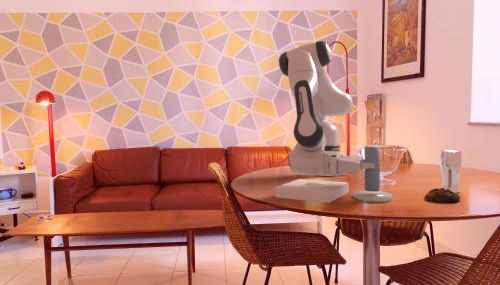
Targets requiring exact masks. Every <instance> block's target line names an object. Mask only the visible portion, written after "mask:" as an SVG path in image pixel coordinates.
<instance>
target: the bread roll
mask: <svg viewBox="0 0 500 285" xmlns="http://www.w3.org/2000/svg"><path fill="white" fill-rule="evenodd" d="M424 199H425V200H426V201H430V202H434V203H440V204H455V203H458V202H459V201H460V199H461V197H460V194H459V193H455V192H452V191H450V190H449V189H447V190H445V189H444V188H442V187H441V188H439V187H437V188H432V189H430V190H429V191H428V192H427V193H426V194H425V195H424Z"/></svg>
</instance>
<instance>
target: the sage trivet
mask: <svg viewBox="0 0 500 285" xmlns="http://www.w3.org/2000/svg"><path fill="white" fill-rule="evenodd" d="M352 198H354V199H356V200H359V201H360V200H361V201H363V202H364V201H365V203H375V204H376V203H377V204H378V203H379V204H380V203H388V202H391V201H393V194H392V193H390V192H387V191H382V190H380V191H366V190H358V191H357V190H356V191H353V193H352Z"/></svg>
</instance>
